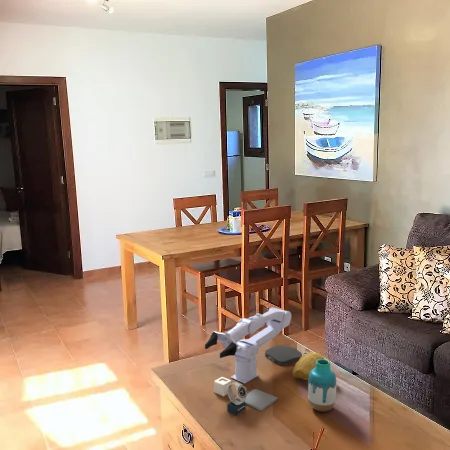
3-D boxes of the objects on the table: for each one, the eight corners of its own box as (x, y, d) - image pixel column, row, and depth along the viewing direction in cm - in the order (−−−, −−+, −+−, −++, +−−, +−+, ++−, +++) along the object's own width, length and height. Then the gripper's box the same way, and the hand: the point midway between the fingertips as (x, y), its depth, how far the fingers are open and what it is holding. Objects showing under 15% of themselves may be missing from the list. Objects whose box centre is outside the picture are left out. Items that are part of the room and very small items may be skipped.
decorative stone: (301, 387, 202) (324, 358, 202) (282, 367, 215) (304, 340, 215) (318, 400, 208) (341, 372, 209) (299, 380, 221) (320, 353, 222)
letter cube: (222, 387, 206) (222, 376, 205) (231, 391, 203) (231, 380, 202) (214, 392, 202) (214, 380, 201) (223, 396, 199) (223, 384, 198)
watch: (239, 417, 184) (240, 390, 182) (223, 409, 190) (223, 382, 188) (249, 411, 188) (249, 384, 186) (233, 403, 194) (233, 377, 192)
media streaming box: (305, 359, 232) (305, 353, 231) (281, 367, 224) (281, 361, 224) (285, 348, 244) (285, 343, 244) (261, 355, 236) (261, 349, 236)
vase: (337, 403, 193) (338, 358, 190) (333, 418, 184) (335, 370, 180) (309, 399, 197) (311, 354, 193) (305, 413, 187) (306, 365, 184)
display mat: (255, 390, 204) (255, 388, 203) (277, 399, 197) (277, 397, 196) (238, 401, 195) (238, 399, 195) (261, 411, 188) (261, 409, 188)
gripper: (221, 320, 208) (199, 334, 198) (249, 335, 200) (228, 351, 190) (220, 333, 211) (198, 348, 201) (247, 349, 203) (226, 366, 193)
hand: (212, 351), depth 196 cm, fingers open, 7 cm apart
